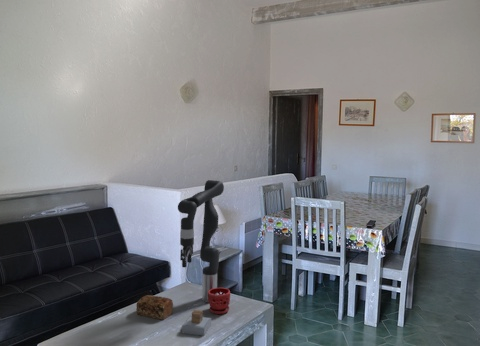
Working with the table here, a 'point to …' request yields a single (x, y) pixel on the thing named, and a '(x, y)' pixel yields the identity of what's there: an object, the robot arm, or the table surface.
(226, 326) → the table surface
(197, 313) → the walnut cube
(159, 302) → the bread
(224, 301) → the plant pot
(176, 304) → the table surface
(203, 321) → the pedestal
